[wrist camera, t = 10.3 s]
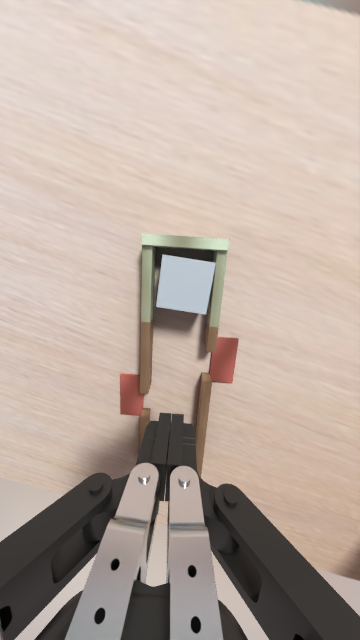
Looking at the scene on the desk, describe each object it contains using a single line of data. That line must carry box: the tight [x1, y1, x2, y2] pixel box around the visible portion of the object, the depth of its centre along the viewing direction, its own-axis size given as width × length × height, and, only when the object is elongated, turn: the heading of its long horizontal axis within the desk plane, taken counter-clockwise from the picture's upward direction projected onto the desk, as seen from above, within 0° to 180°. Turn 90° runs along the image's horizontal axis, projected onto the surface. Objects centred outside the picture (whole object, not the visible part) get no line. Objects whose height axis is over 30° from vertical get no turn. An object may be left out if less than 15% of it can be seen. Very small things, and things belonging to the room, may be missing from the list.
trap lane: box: [120, 234, 239, 478], centre depth 26 cm, size 14×31×3 cm, turn 176°
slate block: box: [156, 255, 216, 314], centre depth 23 cm, size 5×5×4 cm
